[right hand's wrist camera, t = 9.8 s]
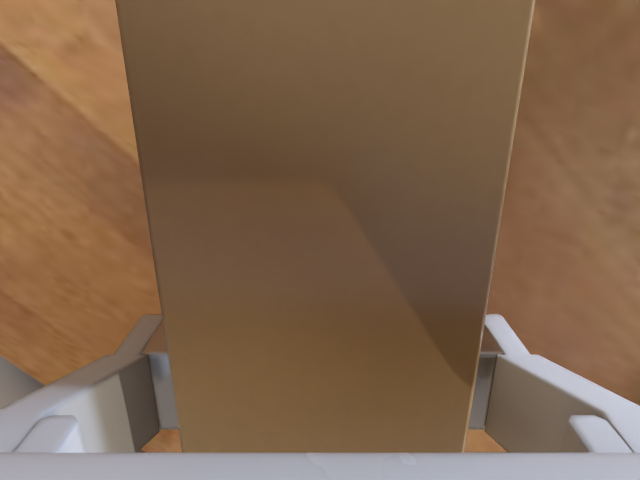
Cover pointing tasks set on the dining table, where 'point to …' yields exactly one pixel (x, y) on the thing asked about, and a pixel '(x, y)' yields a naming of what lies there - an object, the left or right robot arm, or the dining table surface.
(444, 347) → the beam
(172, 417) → the right robot arm
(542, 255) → the dining table surface
